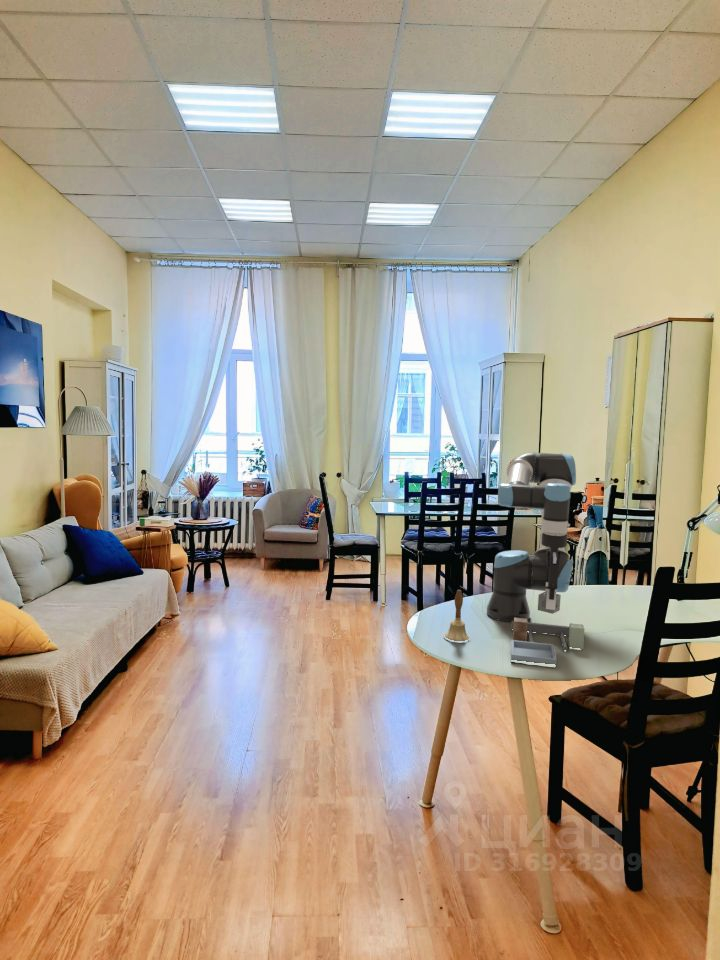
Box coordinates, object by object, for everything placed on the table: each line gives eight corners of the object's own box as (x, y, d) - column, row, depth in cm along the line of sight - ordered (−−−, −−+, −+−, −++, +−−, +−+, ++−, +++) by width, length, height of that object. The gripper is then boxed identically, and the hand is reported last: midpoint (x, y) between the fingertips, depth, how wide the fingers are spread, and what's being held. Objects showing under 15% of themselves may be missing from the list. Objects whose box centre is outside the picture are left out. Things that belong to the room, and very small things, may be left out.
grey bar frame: (511, 645, 197) (512, 636, 197) (511, 629, 212) (511, 620, 212) (585, 654, 192) (586, 644, 192) (579, 636, 208) (580, 627, 207)
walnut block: (513, 642, 200) (514, 621, 199) (512, 638, 204) (514, 617, 203) (526, 644, 199) (527, 622, 198) (525, 640, 203) (527, 618, 202)
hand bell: (472, 643, 198) (475, 593, 196) (446, 643, 197) (449, 593, 196) (466, 634, 206) (468, 586, 204) (441, 634, 205) (443, 586, 204)
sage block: (569, 649, 196) (570, 627, 195) (568, 644, 200) (569, 623, 199) (582, 650, 195) (584, 628, 194) (581, 646, 199) (582, 624, 198)
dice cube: (537, 610, 198) (538, 594, 197) (544, 606, 202) (545, 591, 201) (552, 613, 195) (553, 598, 194) (559, 610, 198) (560, 594, 198)
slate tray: (510, 662, 183) (511, 654, 183) (510, 647, 195) (511, 639, 195) (556, 668, 180) (556, 659, 180) (552, 652, 193) (553, 644, 192)
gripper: (570, 540, 186) (564, 616, 188) (564, 528, 204) (559, 598, 207) (543, 538, 187) (538, 613, 190) (540, 527, 206) (535, 596, 208)
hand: (549, 605), depth 198 cm, fingers closed on dice cube, 6 cm apart
